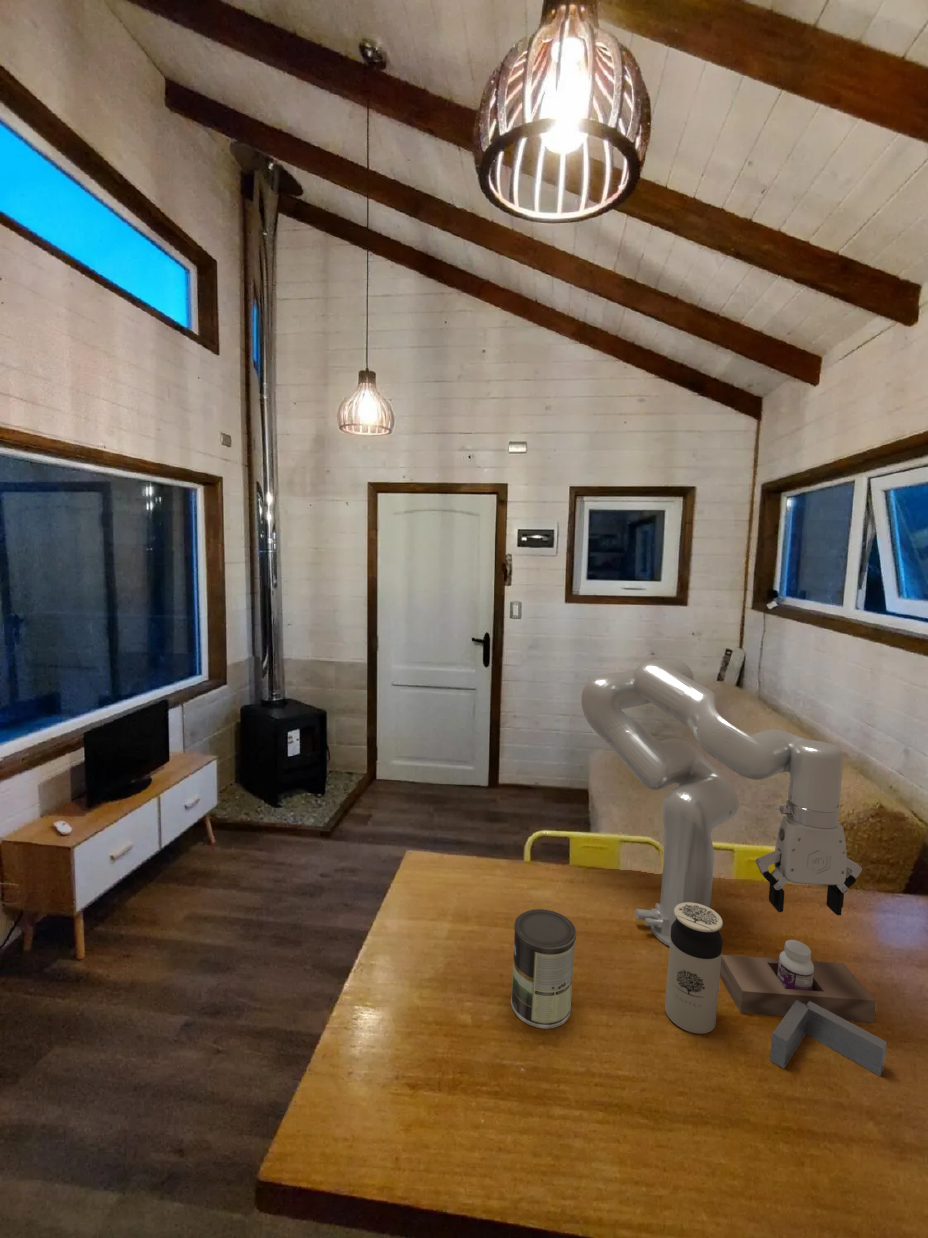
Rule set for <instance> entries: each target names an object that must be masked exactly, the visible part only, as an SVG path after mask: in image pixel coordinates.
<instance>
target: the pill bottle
mask: <svg viewBox="0 0 928 1238" xmlns="http://www.w3.org/2000/svg"><path fill="white" fill-rule="evenodd" d="M811 958H812V951H811V948H810V947H809V946H808V945H807V944H805V943H803V942H802V941H799V940H795V939H788V940H786V941H785V943H784V949H783V951H781V952H780V954H779V956H778V959H779V963H778V974H777V977H778V979H779V980H780V982H781V983H782V985H783V986H784V988H785V989H793V990H807V991H812V983H813V974H814V966H813V963H812V961H813V960H812V959H811Z"/></svg>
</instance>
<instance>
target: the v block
mask: <svg viewBox="0 0 928 1238" xmlns="http://www.w3.org/2000/svg"><path fill="white" fill-rule="evenodd" d="M806 1035H807V1036H809V1037H811V1038H812V1039H814V1040H816V1041H817V1042H819V1043H821V1044H823V1045H825V1046H826V1047H827V1048H830V1049H831V1050H833V1051H835V1052H837V1053H838V1054H839V1055H840V1054H841V1056H844V1057H846V1058H847V1059H849V1060H851V1061H853V1062H854V1063H855V1064H857V1065H859V1066H861V1067H863V1068H864V1069H866V1070H869V1071H870V1072H872V1073H873V1074H875V1075H877V1076H879V1077H881V1075H882V1074H883V1071H884V1068H885V1067H884V1066H885V1060H886V1059H885V1058H886V1050H887V1043H888V1042H887V1041H886V1040H884V1039H883V1038H880V1037H878V1036H877V1035H875V1034H873V1033H871V1032H870V1031H867V1030H865V1029H864V1028H862V1027H859V1026H858V1025H856V1024H854V1023H852V1022H851V1021H847V1020H845V1019H843V1018H841V1017H839V1016H837V1015H835V1014H833V1013H832V1012H830V1011H828V1010H826V1009H824V1008H822V1007H820V1006H818V1005H816V1004H815V1003H813V1002H811V1001H809V1002H808V1004H807V1005H805V1004H803V1003H801V1002H799V1001H798V1000H796V1001H795V1002H794V1004H793V1005H792V1007H791V1008H790V1009H789V1011H788V1012H787V1014H786V1015H785V1016H783V1018H782V1019H781V1020H780V1022H779V1023H778V1024H777V1027H776V1028H775V1029H774V1030H773V1032H772V1035H771V1045H770V1055H769V1061H771V1062H772V1063H773V1064H775V1065H777V1066H778V1067H780V1068H782V1069H785V1068H786V1067H787V1066H788V1064H789V1062H790V1060H791V1059H792V1057H793V1056H794V1054H795V1052H796V1051H797V1049H798V1047H799V1046H800V1045H801V1043H802V1041H803V1040H804V1038H805V1036H806Z"/></svg>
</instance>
